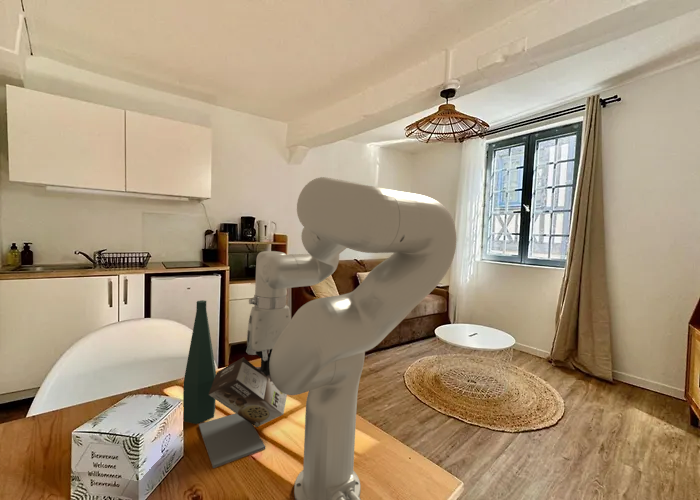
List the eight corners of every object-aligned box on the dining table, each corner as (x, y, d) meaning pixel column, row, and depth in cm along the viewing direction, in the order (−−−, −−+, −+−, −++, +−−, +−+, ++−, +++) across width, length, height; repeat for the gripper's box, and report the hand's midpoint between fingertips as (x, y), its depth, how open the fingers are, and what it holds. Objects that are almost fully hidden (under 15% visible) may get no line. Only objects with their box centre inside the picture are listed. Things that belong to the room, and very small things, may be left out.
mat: (265, 448, 71) (265, 446, 71) (213, 468, 64) (213, 465, 64) (244, 413, 84) (244, 410, 84) (198, 426, 77) (198, 424, 77)
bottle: (213, 403, 87) (215, 297, 85) (218, 418, 81) (221, 303, 79) (181, 411, 83) (182, 299, 81) (184, 427, 76) (185, 306, 75)
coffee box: (287, 391, 81) (244, 355, 74) (284, 415, 76) (236, 378, 69) (261, 404, 83) (216, 371, 77) (255, 428, 78) (206, 394, 71)
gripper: (244, 308, 70) (241, 387, 72) (304, 302, 79) (300, 373, 80) (235, 300, 76) (232, 373, 78) (292, 295, 85) (289, 361, 86)
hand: (267, 373), depth 79 cm, fingers closed
